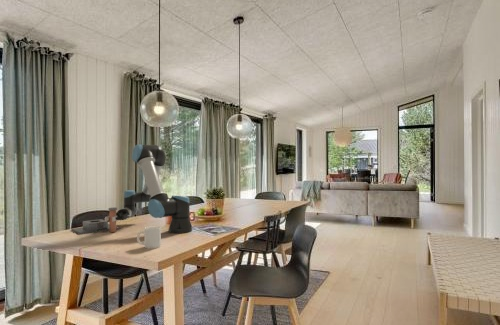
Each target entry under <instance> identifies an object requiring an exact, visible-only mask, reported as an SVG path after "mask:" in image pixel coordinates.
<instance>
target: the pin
mask: <svg viewBox="0 0 500 325" xmlns="http://www.w3.org/2000/svg"><path fill="white" fill-rule="evenodd" d="M108 211H109V214H108V215H109V221H108V224H109V233H114V232H117V230H116V227H117V220H116V221H114V222H112V217H114V216H116V213H117V211H118V207H109V208H108Z"/></svg>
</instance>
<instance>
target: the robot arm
mask: <svg viewBox="0 0 500 325" xmlns="http://www.w3.org/2000/svg"><path fill="white" fill-rule="evenodd" d="M166 156H167V155H166V152H165V150H164V149H163V148H162V147H161V146H159V145H157V144H142V143H141V144H136V145H134V147H133V148H132V151H131V160H132V162H135V163H137V165H138V167H139V168H140V169H141V171H142V174H143V176H144V180H145V182H144V184H143V188H142V190H141V192H136V191H135V190H133V189H131V190H130V189H129V190H124V192H123V208H121V209H119V210H117V211H116V216H114V217H112V222H114V221H116V222H117V221H126V220H127V219H129V218H132V217H134V216H135V215H136V214H137V212H138V211H137V207H136V204H138V203H139V204H140V203H147V211H148V213H149V215H150V216H151V217H152V218H155V219H162V218H168V217H171V220H170V222H169V226H168V233H174V234H185V233H191V232H192V231H193V226H192V222H191V218H190V203H191V202H190V197H189V196H184V195H174V194H173V195H171V197H169V195H168V193H167V192H164V189H163V186H162V183H161V180H160V173H161V171H162V168H163V167H164V166H165V164H166V159H167V158H166ZM104 220H105V222H106V221H108V222H109V214H107V215H105V217H104Z"/></svg>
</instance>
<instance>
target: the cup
mask: <svg viewBox="0 0 500 325" xmlns="http://www.w3.org/2000/svg"><path fill="white" fill-rule="evenodd" d="M161 231H162V227H161V226H157V225H156V226H155V225H153V226H145V227H144V230H140V231H139V232H138V233H137V235H136V241H137V244H139V245H141V246H142V245H144V248H145V249H148V250H151V249H152V250H153V249H158V248H160V247H161V245H162V242H161V241H162V239H161V238H162V237H161V236H162V232H161ZM140 234H144V241H143V242H142V241H141V240H140Z"/></svg>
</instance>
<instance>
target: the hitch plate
mask: <svg viewBox="0 0 500 325" xmlns="http://www.w3.org/2000/svg"><path fill="white" fill-rule="evenodd" d="M70 230H71V231H72V232H73V233H76V234H78V235H80V236H81V235H87V234H94V233H101V232H107V231H109V221H106V222H105V219H90V220H83V221H82V227H80V226H79V227H73V228H71V229H70ZM117 230H119V227H118V226H116V231H117Z"/></svg>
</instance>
